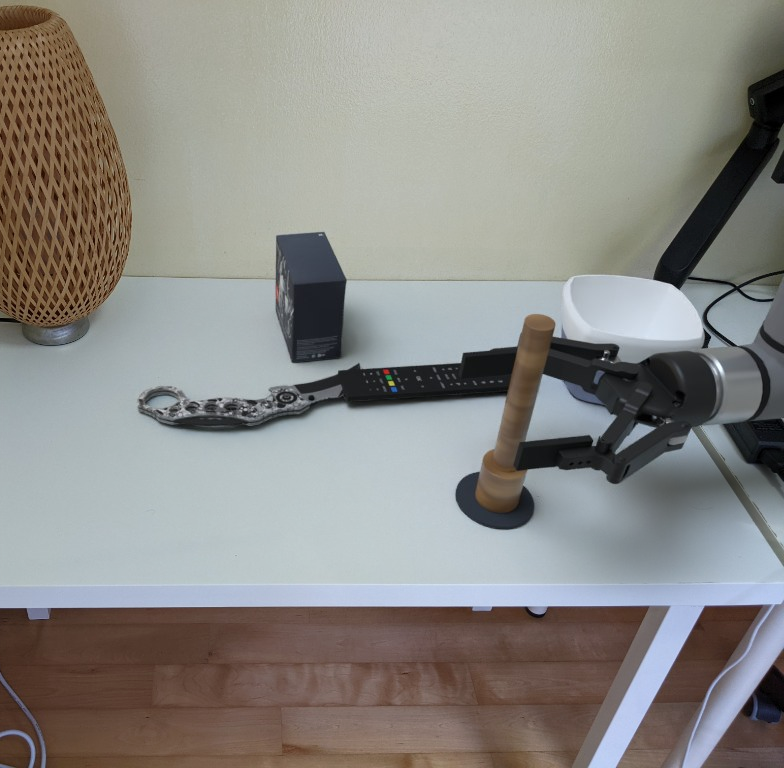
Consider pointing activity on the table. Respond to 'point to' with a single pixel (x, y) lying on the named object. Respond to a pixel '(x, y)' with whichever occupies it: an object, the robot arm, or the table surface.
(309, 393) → the knife
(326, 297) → the small box
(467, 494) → the coaster
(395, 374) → the remote control
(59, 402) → the table surface
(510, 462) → the muddler
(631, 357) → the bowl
